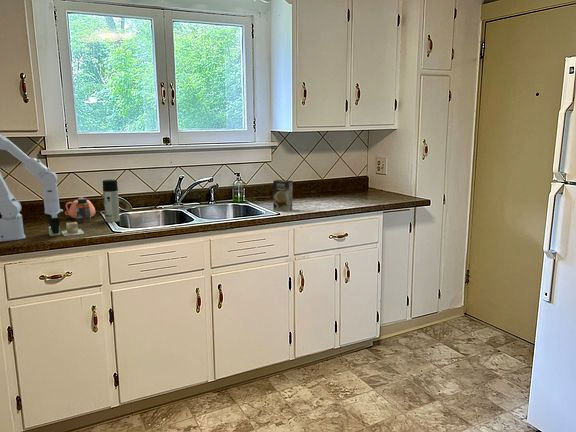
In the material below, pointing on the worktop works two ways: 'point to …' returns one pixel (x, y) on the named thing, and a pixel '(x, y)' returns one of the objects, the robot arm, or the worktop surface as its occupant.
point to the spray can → (111, 200)
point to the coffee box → (282, 195)
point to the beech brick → (72, 227)
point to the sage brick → (52, 233)
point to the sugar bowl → (73, 211)
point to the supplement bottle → (83, 210)
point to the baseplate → (72, 233)
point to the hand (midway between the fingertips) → (54, 231)
